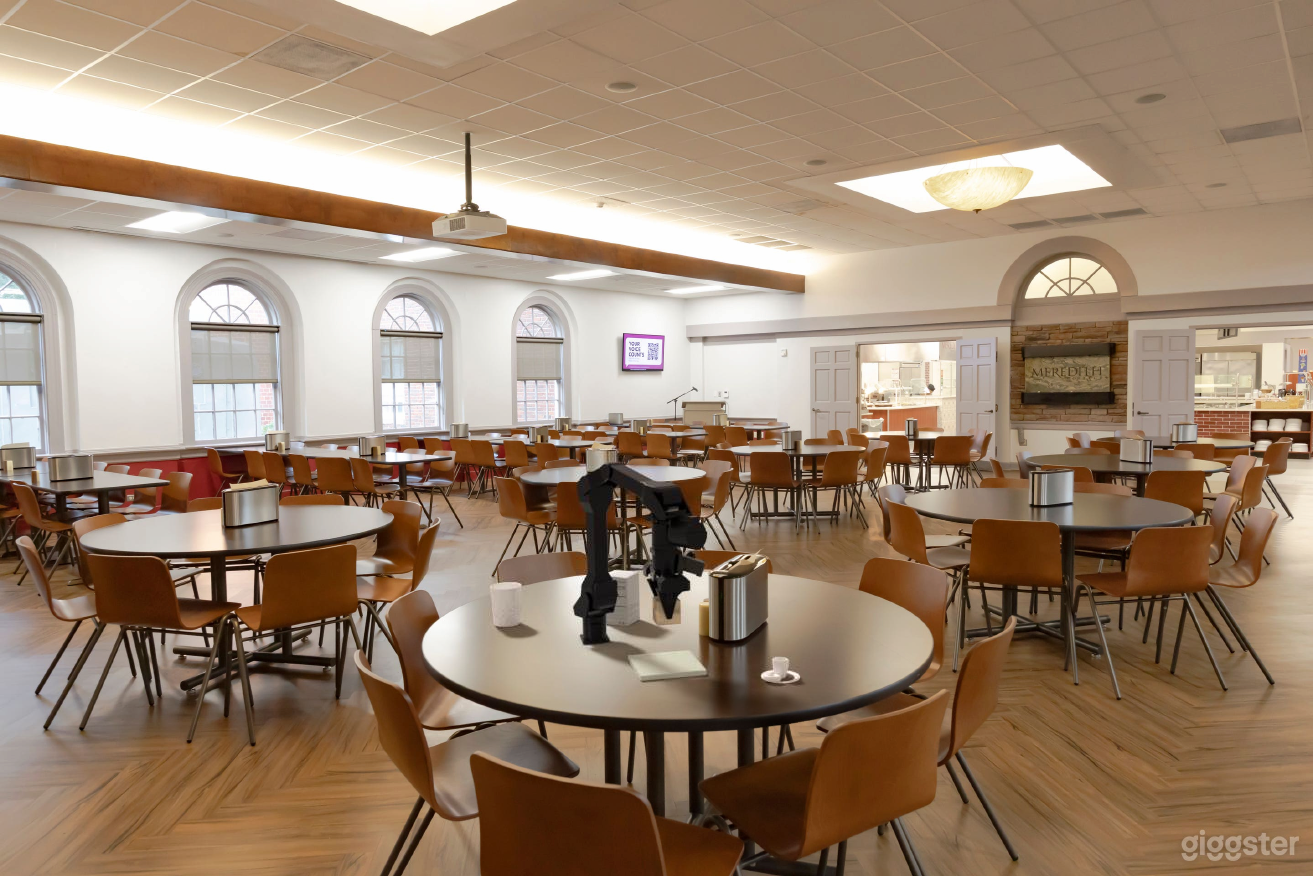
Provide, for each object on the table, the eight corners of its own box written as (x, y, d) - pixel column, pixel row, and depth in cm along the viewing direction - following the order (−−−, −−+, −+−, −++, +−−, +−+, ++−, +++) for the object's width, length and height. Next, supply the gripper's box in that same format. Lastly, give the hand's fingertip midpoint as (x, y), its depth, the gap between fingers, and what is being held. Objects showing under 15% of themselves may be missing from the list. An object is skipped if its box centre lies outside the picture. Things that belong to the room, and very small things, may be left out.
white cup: (501, 629, 208) (500, 590, 207) (485, 623, 214) (484, 585, 213) (528, 623, 213) (527, 585, 212) (512, 617, 219) (511, 580, 218)
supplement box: (615, 616, 218) (614, 569, 218) (640, 619, 215) (639, 571, 215) (602, 623, 212) (601, 575, 211) (627, 626, 209) (626, 577, 208)
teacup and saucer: (770, 688, 165) (770, 668, 164) (750, 676, 172) (750, 657, 172) (807, 681, 168) (807, 662, 168) (786, 670, 175) (786, 651, 175)
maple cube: (652, 619, 179) (652, 596, 179) (675, 617, 180) (674, 595, 180) (657, 625, 174) (657, 602, 174) (680, 623, 175) (680, 600, 175)
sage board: (628, 659, 182) (628, 655, 182) (689, 654, 185) (689, 650, 185) (640, 680, 169) (640, 676, 169) (706, 674, 172) (706, 670, 172)
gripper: (714, 549, 169) (715, 624, 170) (690, 534, 187) (691, 602, 188) (661, 552, 166) (662, 628, 167) (642, 537, 184) (643, 606, 185)
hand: (666, 615), depth 177 cm, fingers closed on maple cube, 5 cm apart
